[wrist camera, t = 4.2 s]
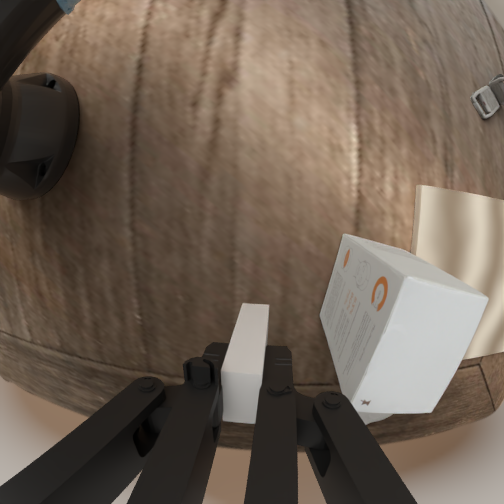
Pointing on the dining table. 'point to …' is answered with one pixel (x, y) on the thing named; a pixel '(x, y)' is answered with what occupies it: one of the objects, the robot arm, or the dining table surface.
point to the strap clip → (489, 97)
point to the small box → (396, 326)
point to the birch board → (466, 252)
